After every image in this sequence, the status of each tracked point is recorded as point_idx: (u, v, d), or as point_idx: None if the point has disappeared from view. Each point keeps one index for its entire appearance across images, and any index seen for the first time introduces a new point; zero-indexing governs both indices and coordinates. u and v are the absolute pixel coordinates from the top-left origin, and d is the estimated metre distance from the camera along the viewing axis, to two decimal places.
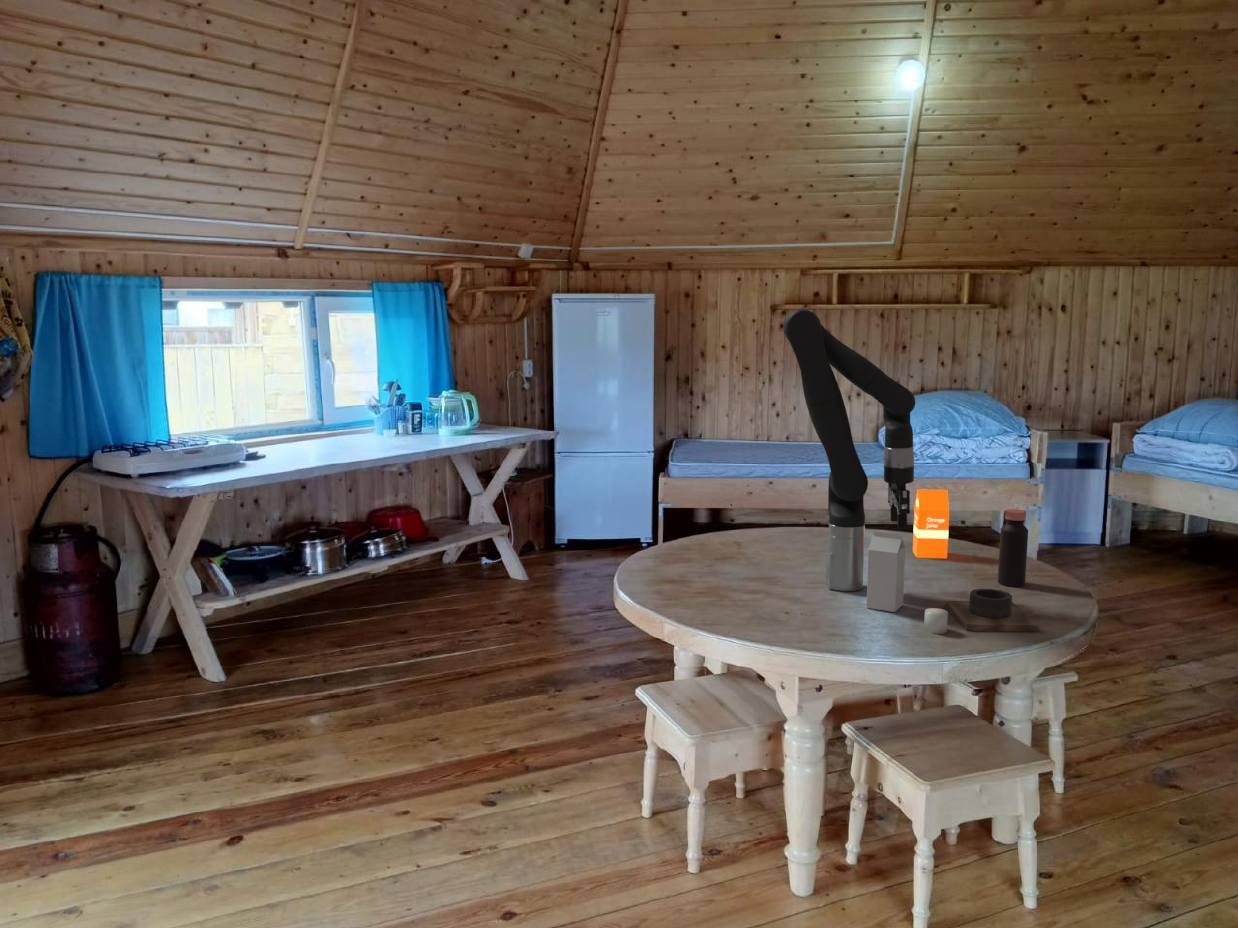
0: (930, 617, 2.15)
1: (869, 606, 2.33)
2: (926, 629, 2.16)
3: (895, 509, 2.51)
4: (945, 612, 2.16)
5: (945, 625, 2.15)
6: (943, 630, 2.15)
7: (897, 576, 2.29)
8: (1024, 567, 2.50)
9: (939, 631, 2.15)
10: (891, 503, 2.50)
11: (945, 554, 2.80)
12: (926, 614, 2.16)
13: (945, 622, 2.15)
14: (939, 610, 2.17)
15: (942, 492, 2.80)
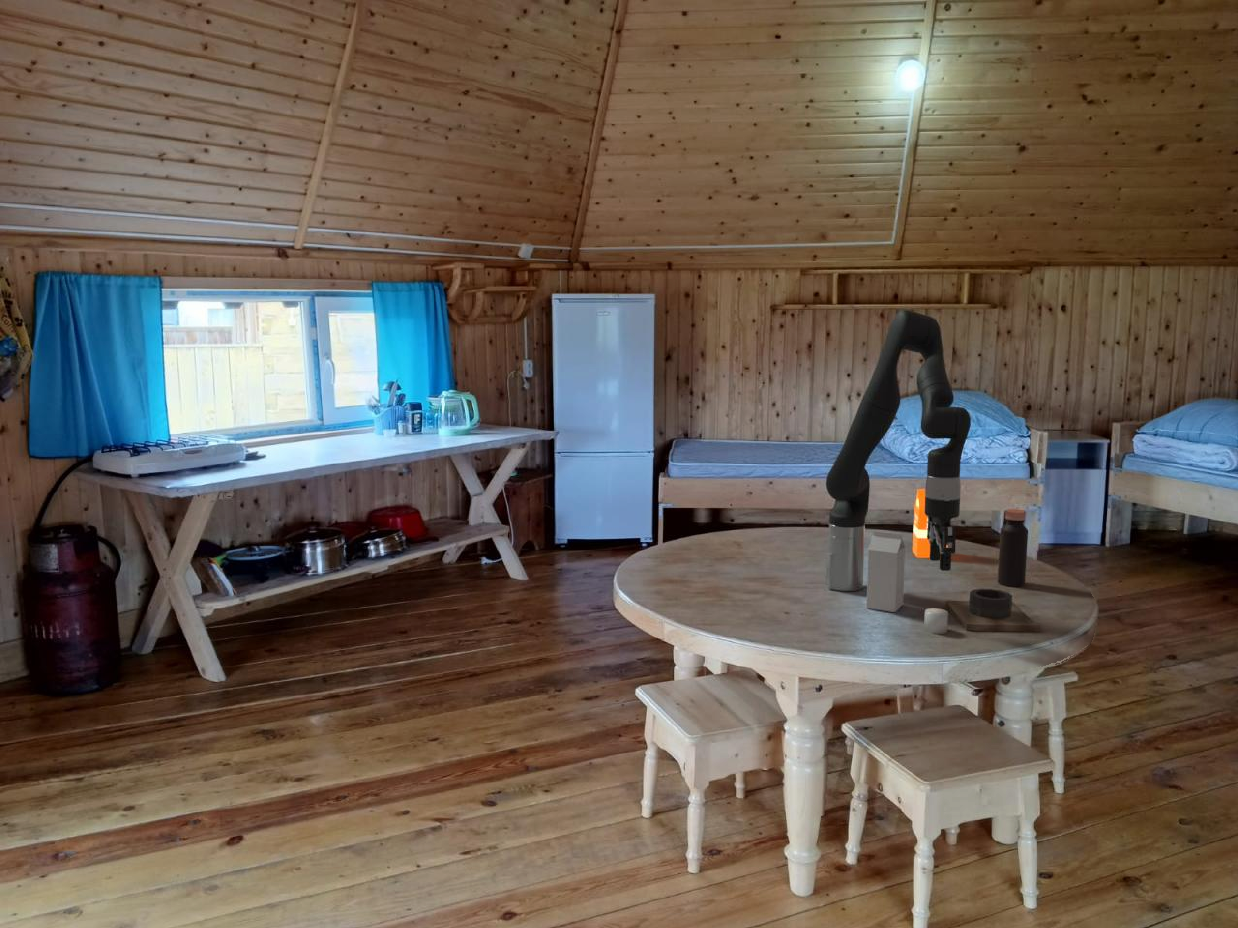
0: (930, 617, 2.15)
1: (869, 606, 2.33)
2: (926, 629, 2.16)
3: (935, 546, 2.18)
4: (945, 612, 2.16)
5: (945, 625, 2.15)
6: (943, 630, 2.15)
7: (897, 576, 2.29)
8: (1024, 567, 2.50)
9: (939, 631, 2.15)
10: (931, 539, 2.18)
11: None
12: (926, 614, 2.16)
13: (945, 622, 2.15)
14: (939, 610, 2.17)
15: None
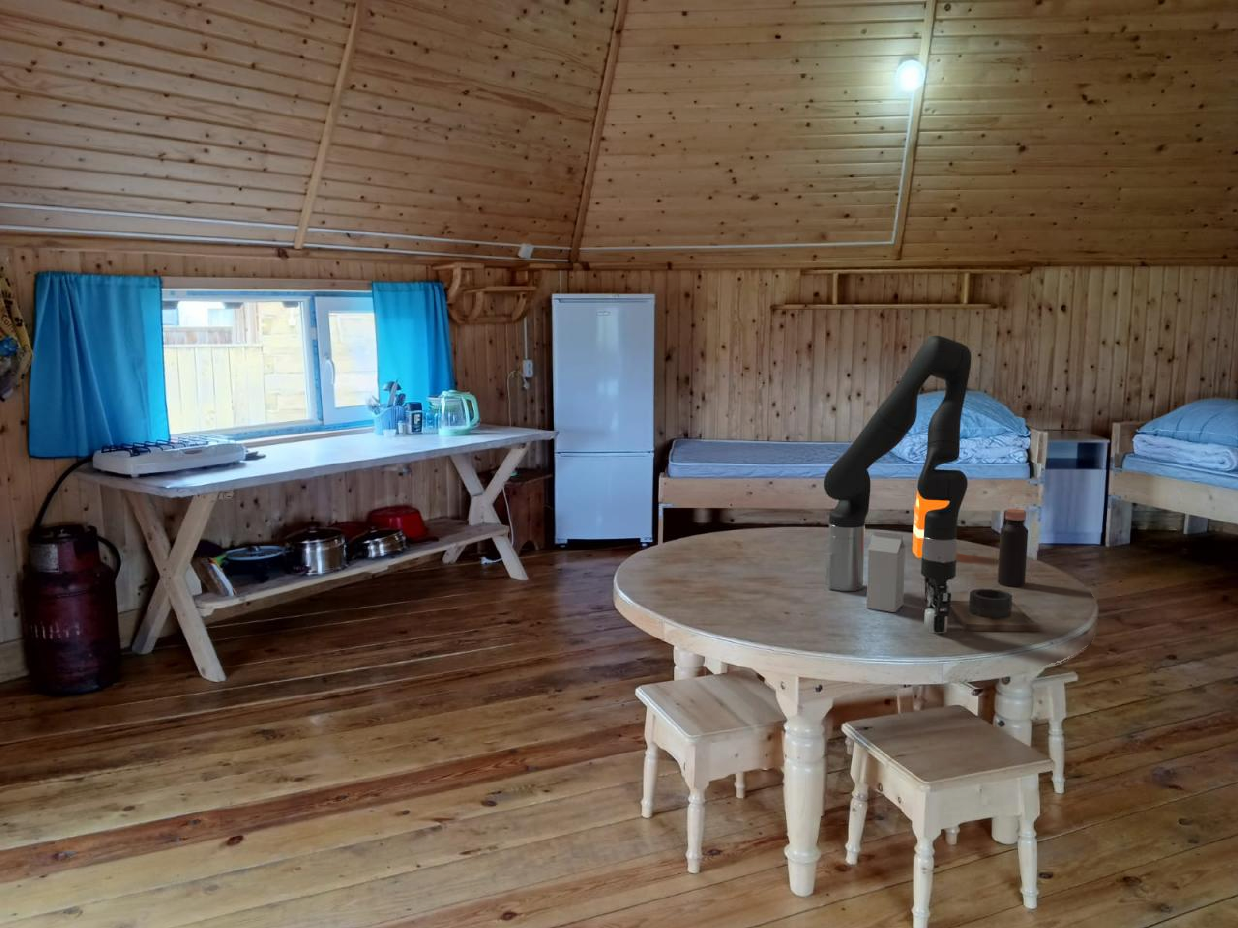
0: (930, 617, 2.15)
1: (869, 606, 2.33)
2: (926, 629, 2.16)
3: None
4: None
5: (945, 625, 2.15)
6: None
7: (897, 576, 2.29)
8: (1024, 567, 2.50)
9: None
10: (929, 602, 2.19)
11: None
12: (926, 614, 2.16)
13: (945, 622, 2.15)
14: None
15: None
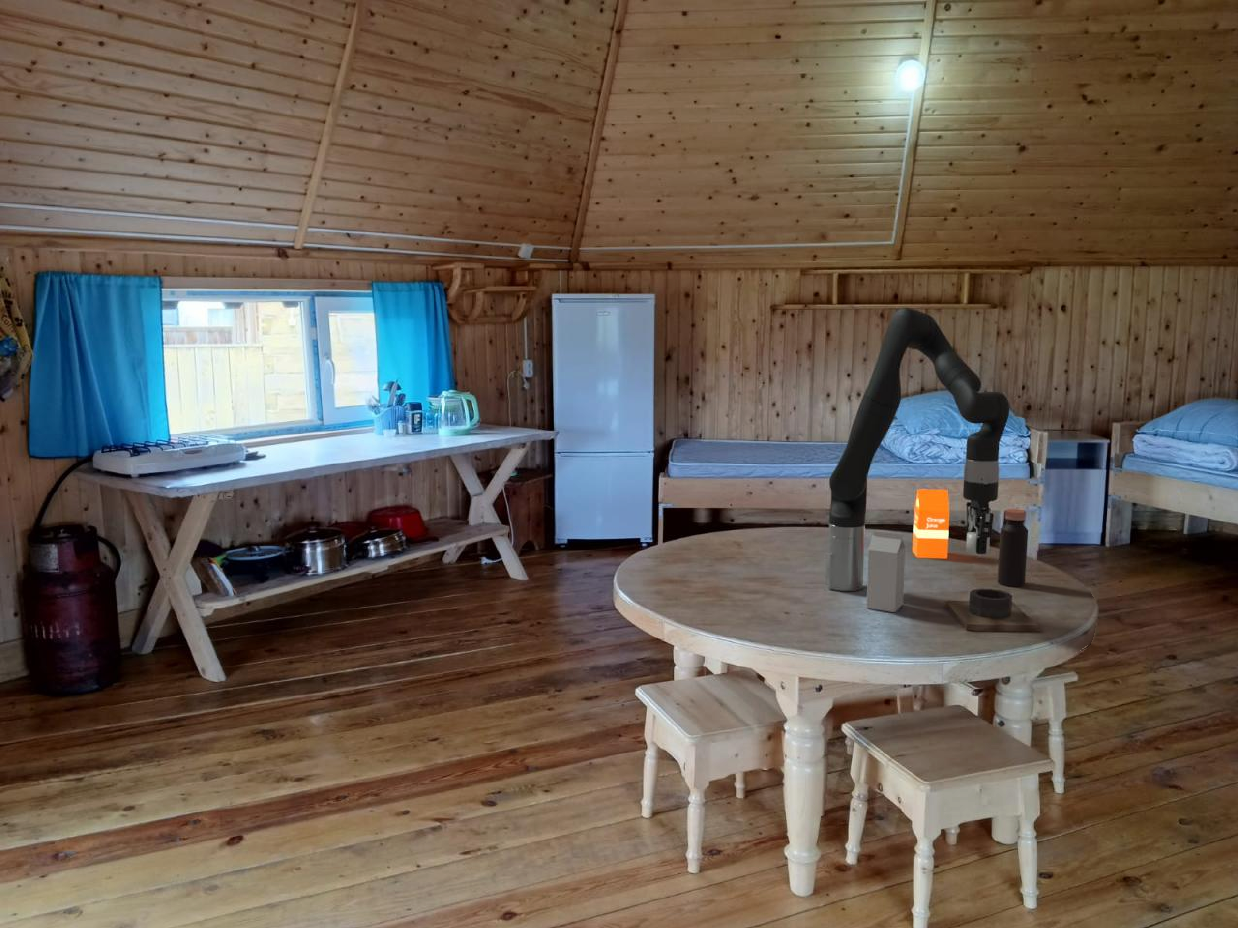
0: (972, 539, 2.17)
1: (869, 606, 2.33)
2: (968, 551, 2.19)
3: None
4: None
5: (987, 547, 2.17)
6: (986, 552, 2.17)
7: (897, 576, 2.29)
8: (1024, 567, 2.50)
9: None
10: (971, 526, 2.21)
11: (945, 554, 2.80)
12: (968, 536, 2.18)
13: (987, 544, 2.17)
14: None
15: (942, 492, 2.80)
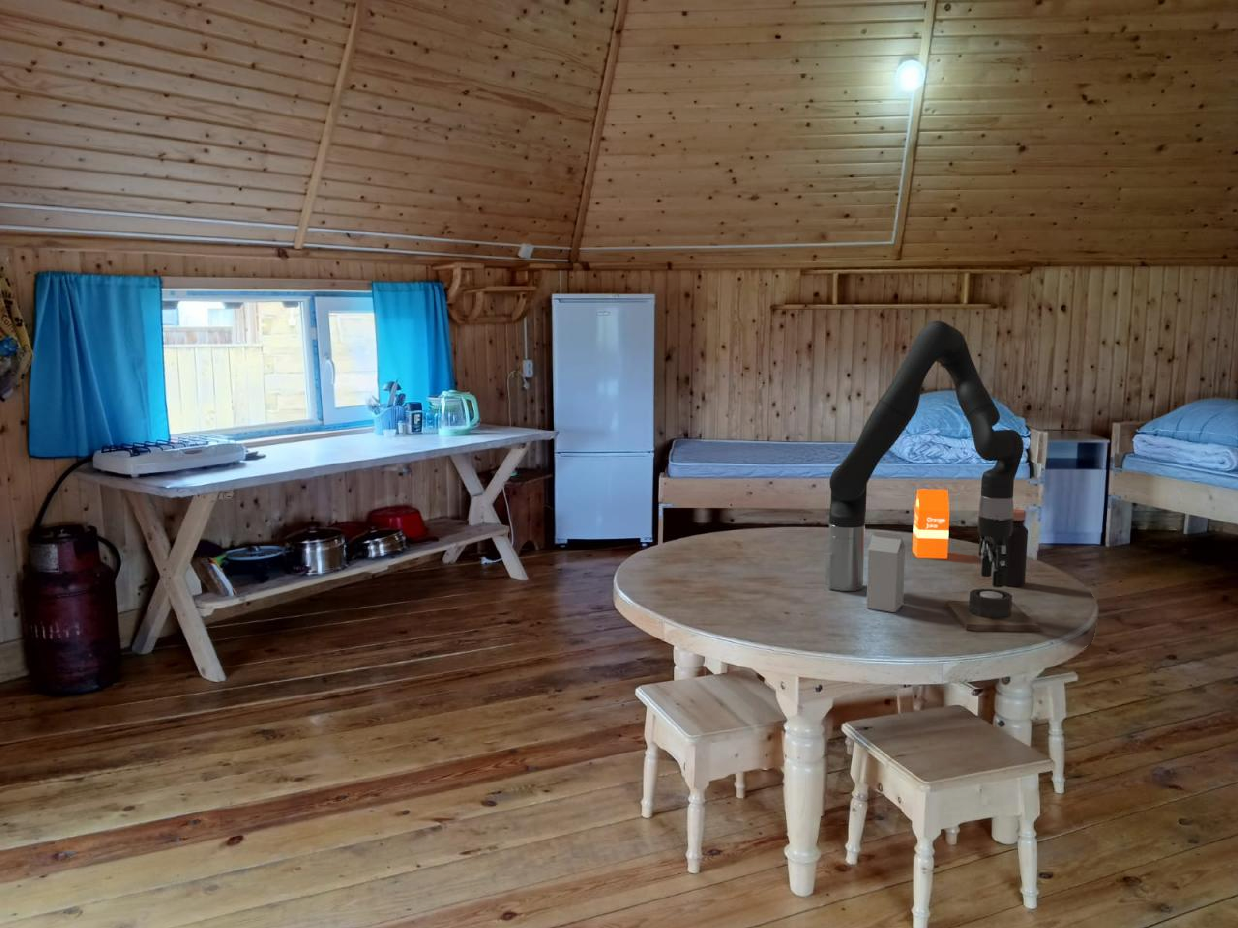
0: None
1: (869, 606, 2.33)
2: None
3: (987, 563, 2.27)
4: (1000, 595, 2.23)
5: None
6: None
7: (897, 576, 2.29)
8: (1024, 567, 2.50)
9: None
10: (983, 557, 2.26)
11: (945, 554, 2.80)
12: None
13: None
14: (993, 593, 2.25)
15: (942, 492, 2.80)
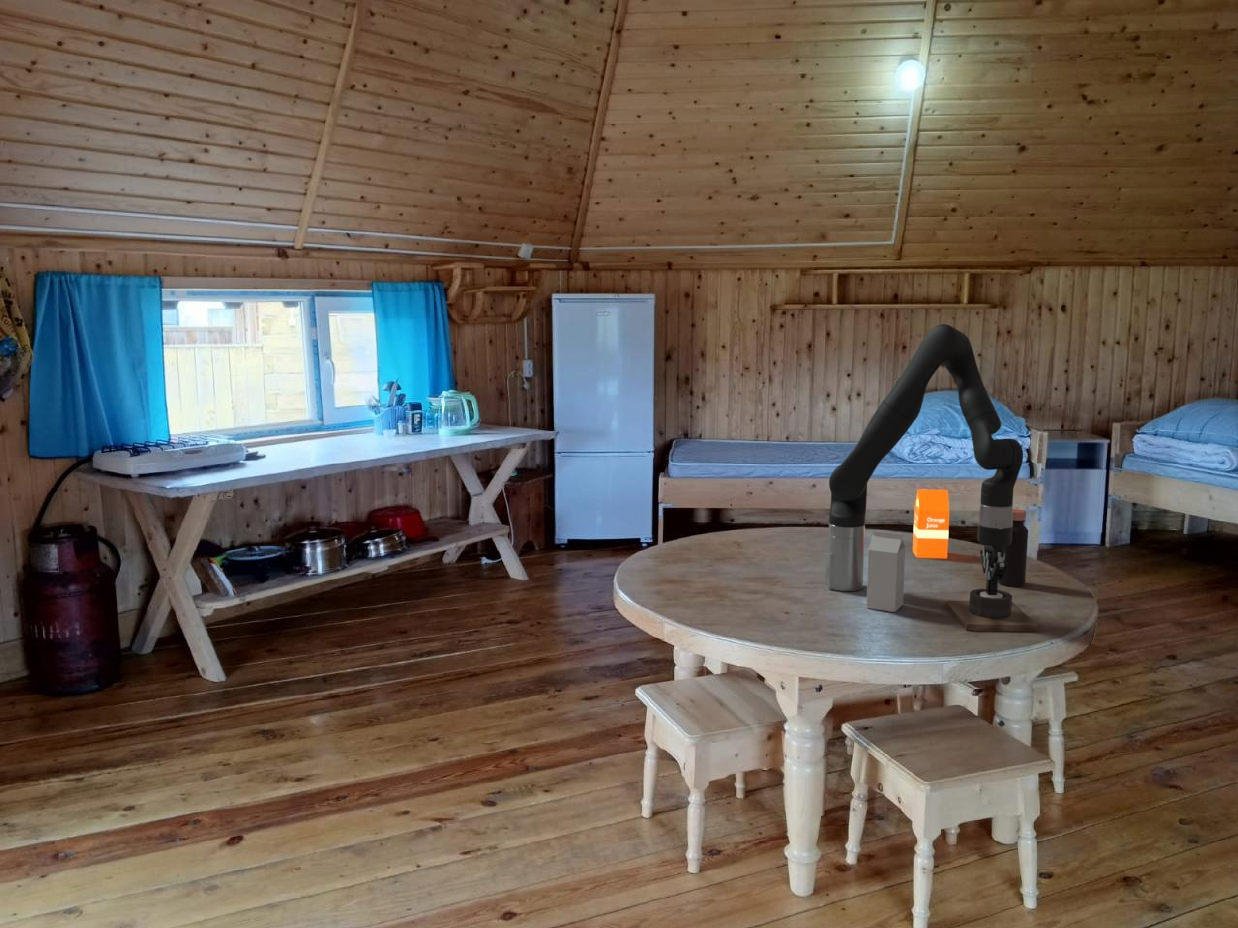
0: None
1: (869, 606, 2.33)
2: None
3: None
4: (1000, 595, 2.23)
5: None
6: None
7: (897, 576, 2.29)
8: (1024, 567, 2.50)
9: None
10: (987, 570, 2.24)
11: (945, 554, 2.80)
12: None
13: None
14: None
15: (942, 492, 2.80)
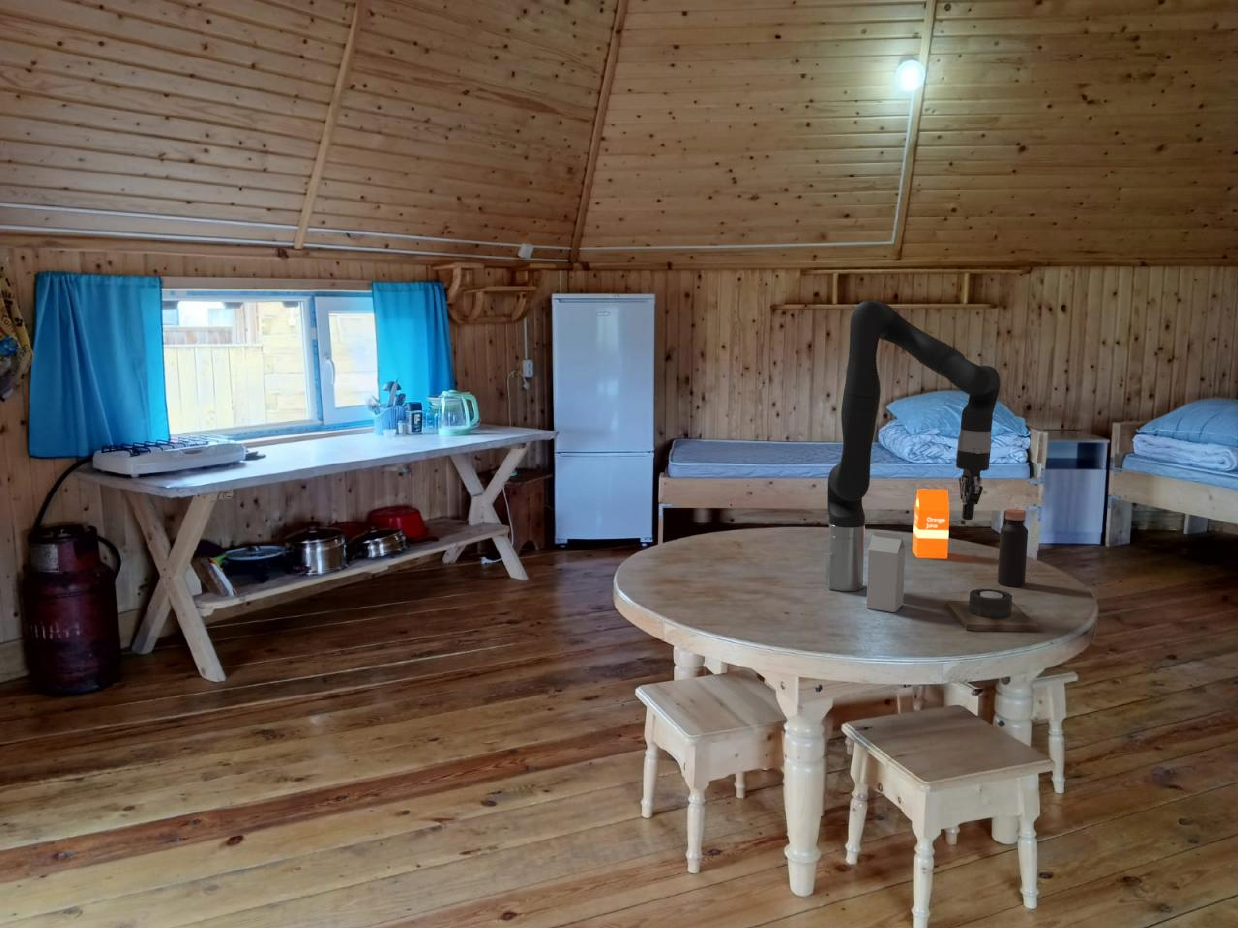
0: None
1: (869, 606, 2.33)
2: None
3: None
4: (1000, 595, 2.23)
5: None
6: None
7: (897, 576, 2.29)
8: (1024, 567, 2.50)
9: None
10: (964, 496, 2.29)
11: (945, 554, 2.80)
12: None
13: None
14: (994, 593, 2.25)
15: (942, 492, 2.80)
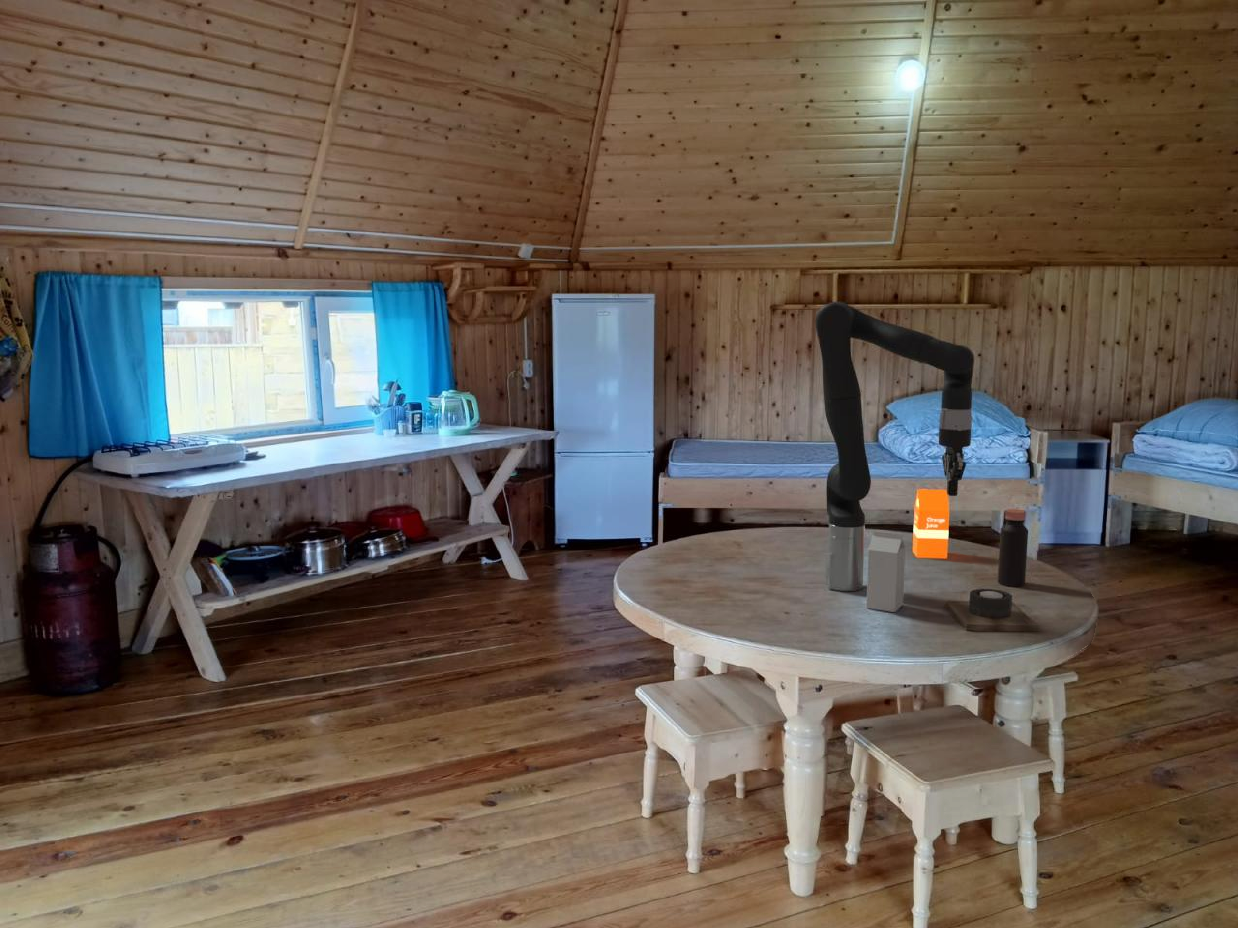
0: None
1: (869, 606, 2.33)
2: None
3: None
4: (1000, 595, 2.23)
5: None
6: None
7: (897, 576, 2.29)
8: (1024, 567, 2.50)
9: None
10: (948, 472, 2.35)
11: (945, 554, 2.80)
12: None
13: None
14: (993, 593, 2.25)
15: (942, 492, 2.80)
